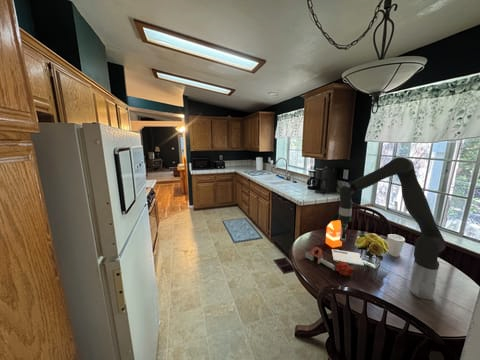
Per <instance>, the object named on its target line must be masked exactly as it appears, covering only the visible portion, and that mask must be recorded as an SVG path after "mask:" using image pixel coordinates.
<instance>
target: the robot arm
mask: <svg viewBox="0 0 480 360" xmlns="http://www.w3.org/2000/svg"><path fill="white" fill-rule="evenodd" d="M396 175H397V178H398V179H399V182H400V187H401V194H402V195H401V196H402V200H403V202H404V203H403V204H404V206H405V208H406V211H407V213H408V214H409V215H410V216H411V217H412V218H413V220H414V221H415V222H416V223H417V225H418V228H419V230H420V232H421V236H419V237H417V239H415V242H414V249H413V257H414V260H413V265H412V272H411V276H410V277H411V278H410V282H409V288H408V289H409V292H410V293H412V294H413V295H414V296H416V298H419V299H424V300H428V301H433V300H434V294H435V290H436V286H437V285H436V282H437V277H438V272H439V268H440V262H439V261H438V259H439V253H441V252H442V251H444V250H445V248H446V241H445V239H444V237H443V234H442V233H441V231H440V228H439V227H438V226H437V223H436V221H435V218H434V215H433V213H432V210H431V208H430V205H429V201H428V199H427V196H426V194H425V192H424V190H423V188H422V186H421V185H420V182H419V181H418V177H417V174H416V170H415V166H414V162H413V161H412V159H410V158H409V157H405V156H397V157H395V158H393V159H391V160H390V161H389V162H387V163H385V164H384V165H383V166H381V167H379V168H378V169H376V170H374V171H372V172H370V173H368V174H365V175H363V176H360V177H359V178H357V179H354V181H351V182H349V183H346V184H344V185H342V186H341V187H340V189H339V200H340V201H339V209H338V218H337V220H340V221H341V226H340V228H341V230H342V239H345V237H346V238H347V234H348V230H349V228H348V227H349V225H348V223H350V222H351V221H352V212H353V211H352V209H353V200H352V195H353V194H354V193H357V192H358V191H362V190H365V189H367V188H369V187H372V186H373V185H375V184H377V183H379V182H381V181H382V180H384V179H386V178H390V177H392V176H396ZM342 228H343V229H342Z"/></svg>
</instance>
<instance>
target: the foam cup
mask: <svg viewBox="0 0 480 360" xmlns="http://www.w3.org/2000/svg"><path fill="white" fill-rule="evenodd" d="M405 242H406V239H405V237H403V236H401V235H399V234H395V233H394V234H392V233H390V234H387V247H388V246H389V252H388V251H387V253H388V254H389V255H390V256H392V257H396V258H397V257H400V255H401V252H402V250H403V248H404V247H403V246H404V245H405Z"/></svg>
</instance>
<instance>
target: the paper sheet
mask: <svg viewBox="0 0 480 360" xmlns="http://www.w3.org/2000/svg"><path fill="white" fill-rule="evenodd" d="M331 254H332V259H333V260H332V261H333V262H337V261H341V262H345V263H346V264H349V265H350V264H351V265H356V266H361V267H364V266H365V264H364V261H363V262H361V261H359V258H360V256H361V254H360V252H353V251H347V250H339V249H335V248H331Z"/></svg>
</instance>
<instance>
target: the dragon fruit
mask: <svg viewBox="0 0 480 360" xmlns="http://www.w3.org/2000/svg"><path fill="white" fill-rule="evenodd" d="M334 267H335V268H334V269H335V270H334V271H337V272H338V273H339V275H340V276H342V275H343V276H345V277H350V276H351V275H353V274H354V273H356V270H355V268H354V267H351V266H350V264H349V263H345V262H341V261H334Z"/></svg>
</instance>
